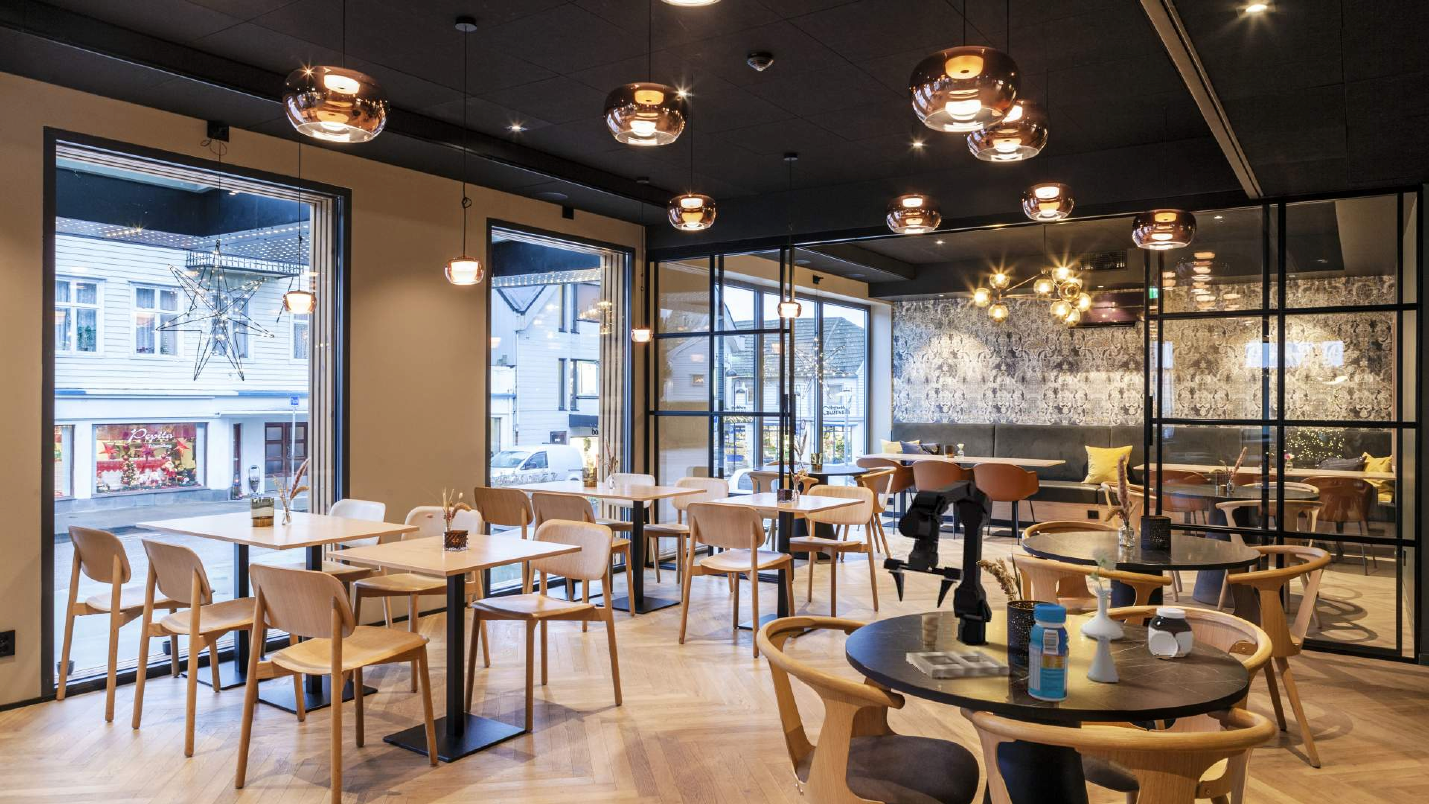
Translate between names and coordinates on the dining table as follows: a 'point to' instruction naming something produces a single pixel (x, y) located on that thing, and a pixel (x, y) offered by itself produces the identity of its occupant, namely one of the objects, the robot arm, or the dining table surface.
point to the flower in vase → (1102, 602)
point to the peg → (929, 632)
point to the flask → (1103, 663)
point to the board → (957, 664)
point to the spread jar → (1170, 632)
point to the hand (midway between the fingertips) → (919, 604)
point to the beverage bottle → (1048, 653)
